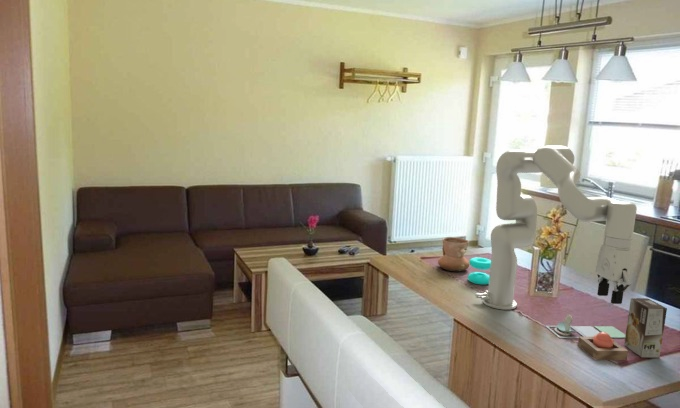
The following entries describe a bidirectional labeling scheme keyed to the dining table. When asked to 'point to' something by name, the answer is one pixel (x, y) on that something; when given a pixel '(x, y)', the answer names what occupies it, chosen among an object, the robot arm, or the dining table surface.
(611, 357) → the box
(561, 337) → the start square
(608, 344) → the popper button
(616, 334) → the pad
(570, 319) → the pacifier
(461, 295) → the dining table surface
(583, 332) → the mid pad
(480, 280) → the donuts
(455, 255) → the ceramic jug
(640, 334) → the coffee box
